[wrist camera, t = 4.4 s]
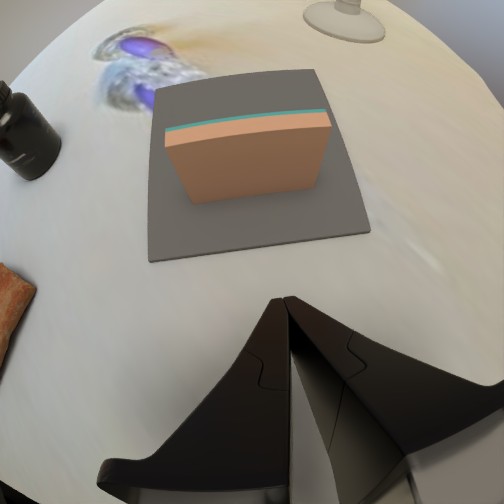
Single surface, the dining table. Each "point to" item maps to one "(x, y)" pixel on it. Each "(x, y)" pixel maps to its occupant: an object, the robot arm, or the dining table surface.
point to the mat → (250, 207)
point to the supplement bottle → (25, 135)
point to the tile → (249, 154)
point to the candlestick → (344, 21)
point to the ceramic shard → (11, 304)
